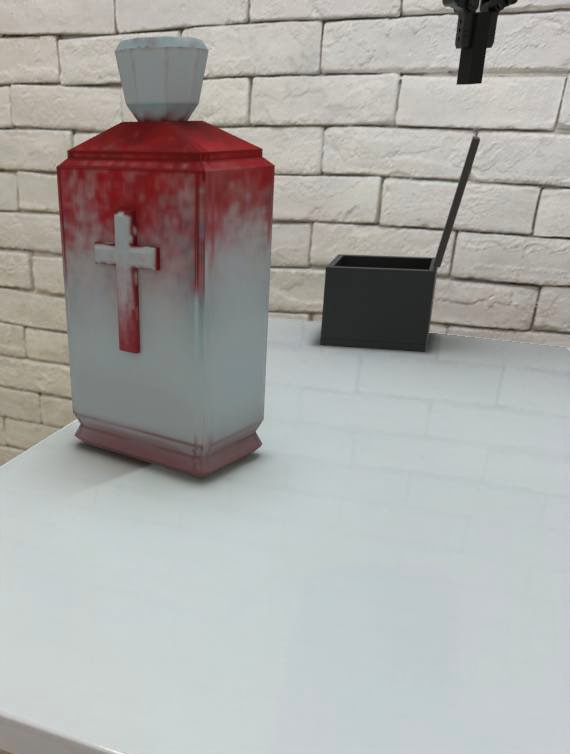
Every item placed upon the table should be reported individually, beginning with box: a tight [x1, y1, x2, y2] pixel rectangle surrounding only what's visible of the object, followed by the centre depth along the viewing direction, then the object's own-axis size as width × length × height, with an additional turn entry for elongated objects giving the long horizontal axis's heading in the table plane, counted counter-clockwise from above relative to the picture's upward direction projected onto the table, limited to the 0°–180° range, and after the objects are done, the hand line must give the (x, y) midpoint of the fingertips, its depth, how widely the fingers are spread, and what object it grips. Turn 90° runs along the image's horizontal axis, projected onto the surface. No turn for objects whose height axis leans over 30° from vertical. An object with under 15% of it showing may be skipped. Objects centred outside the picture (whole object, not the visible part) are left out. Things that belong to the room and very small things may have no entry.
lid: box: [433, 135, 481, 268], centre depth 95 cm, size 13×11×1 cm
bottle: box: [55, 35, 276, 480], centre depth 63 cm, size 14×10×30 cm
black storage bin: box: [319, 253, 439, 352], centre depth 102 cm, size 13×11×9 cm
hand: (468, 83), depth 90 cm, fingers closed
